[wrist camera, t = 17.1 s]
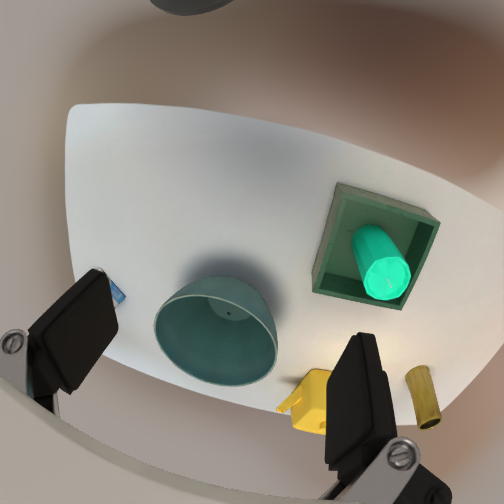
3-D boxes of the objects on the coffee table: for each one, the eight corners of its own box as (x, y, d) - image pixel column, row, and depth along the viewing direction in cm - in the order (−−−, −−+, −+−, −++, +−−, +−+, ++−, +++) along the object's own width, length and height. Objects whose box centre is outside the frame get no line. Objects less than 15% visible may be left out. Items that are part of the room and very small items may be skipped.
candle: (395, 246, 37) (422, 289, 27) (364, 268, 40) (380, 317, 29) (375, 216, 36) (400, 252, 25) (343, 240, 39) (355, 284, 28)
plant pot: (169, 260, 46) (133, 300, 35) (272, 243, 42) (260, 288, 31) (202, 338, 53) (182, 384, 42) (292, 333, 49) (286, 386, 38)
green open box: (337, 182, 36) (342, 191, 31) (425, 209, 35) (440, 222, 30) (311, 272, 42) (312, 292, 38) (392, 290, 41) (401, 310, 36)
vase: (406, 369, 49) (418, 422, 36) (430, 362, 47) (447, 413, 34) (404, 384, 51) (414, 434, 38) (427, 378, 49) (440, 426, 36)
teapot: (271, 389, 57) (264, 432, 47) (293, 359, 52) (288, 407, 41) (346, 407, 57) (347, 446, 47) (374, 379, 51) (380, 423, 41)
